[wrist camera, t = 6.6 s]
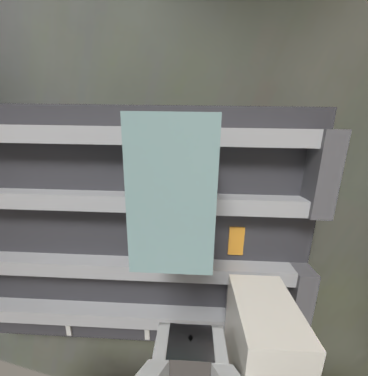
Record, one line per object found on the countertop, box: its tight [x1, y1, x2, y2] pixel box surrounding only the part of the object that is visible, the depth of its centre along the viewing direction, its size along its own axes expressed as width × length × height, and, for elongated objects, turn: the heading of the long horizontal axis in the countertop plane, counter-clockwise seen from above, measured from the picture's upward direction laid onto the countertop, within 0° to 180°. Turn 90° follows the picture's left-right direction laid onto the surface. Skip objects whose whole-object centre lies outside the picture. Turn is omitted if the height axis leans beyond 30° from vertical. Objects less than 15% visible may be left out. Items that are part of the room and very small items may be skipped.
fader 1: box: [120, 111, 222, 275], centre depth 8 cm, size 2×4×5 cm, turn 179°
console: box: [0, 103, 352, 341], centre depth 12 cm, size 20×14×3 cm
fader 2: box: [224, 274, 326, 376], centre depth 9 cm, size 2×4×5 cm, turn 179°
